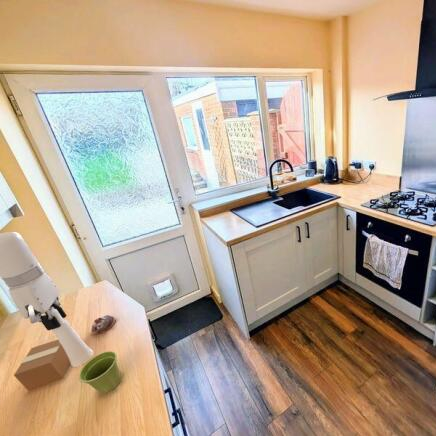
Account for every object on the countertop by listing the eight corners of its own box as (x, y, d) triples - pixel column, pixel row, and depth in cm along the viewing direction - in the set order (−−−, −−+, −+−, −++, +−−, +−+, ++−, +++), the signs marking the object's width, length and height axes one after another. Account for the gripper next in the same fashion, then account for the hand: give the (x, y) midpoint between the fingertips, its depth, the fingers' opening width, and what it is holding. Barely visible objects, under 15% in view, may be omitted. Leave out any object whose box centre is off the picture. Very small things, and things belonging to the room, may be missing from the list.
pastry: (92, 338, 93) (86, 328, 91) (91, 326, 98) (86, 317, 96) (117, 326, 97) (111, 316, 95) (114, 315, 103) (109, 306, 101)
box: (27, 391, 76) (12, 374, 73) (43, 363, 85) (31, 347, 82) (63, 378, 79) (50, 362, 76) (75, 352, 88) (64, 337, 84)
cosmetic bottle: (75, 370, 78) (39, 320, 69) (68, 362, 81) (32, 313, 72) (96, 354, 83) (64, 305, 74) (88, 347, 86) (57, 299, 77)
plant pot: (84, 396, 73) (70, 378, 69) (111, 366, 81) (100, 348, 78) (108, 403, 71) (95, 384, 67) (134, 371, 79) (123, 353, 75)
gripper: (24, 263, 74) (55, 309, 81) (-15, 298, 59) (27, 350, 67) (54, 256, 76) (81, 301, 83) (24, 288, 62) (60, 339, 69)
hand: (57, 322), depth 75 cm, fingers closed on cosmetic bottle, 3 cm apart
